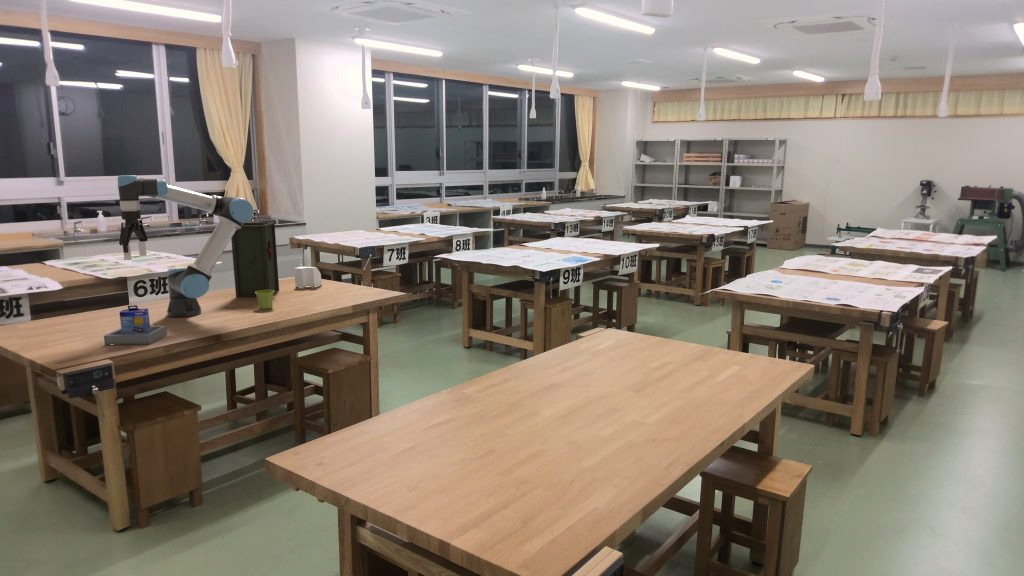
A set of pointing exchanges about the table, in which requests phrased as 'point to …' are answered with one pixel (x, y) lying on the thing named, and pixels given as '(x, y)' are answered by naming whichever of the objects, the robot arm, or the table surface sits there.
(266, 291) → the plant pot
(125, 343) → the tray
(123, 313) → the ink cartridge box
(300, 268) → the white rounded block
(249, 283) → the first aid box
